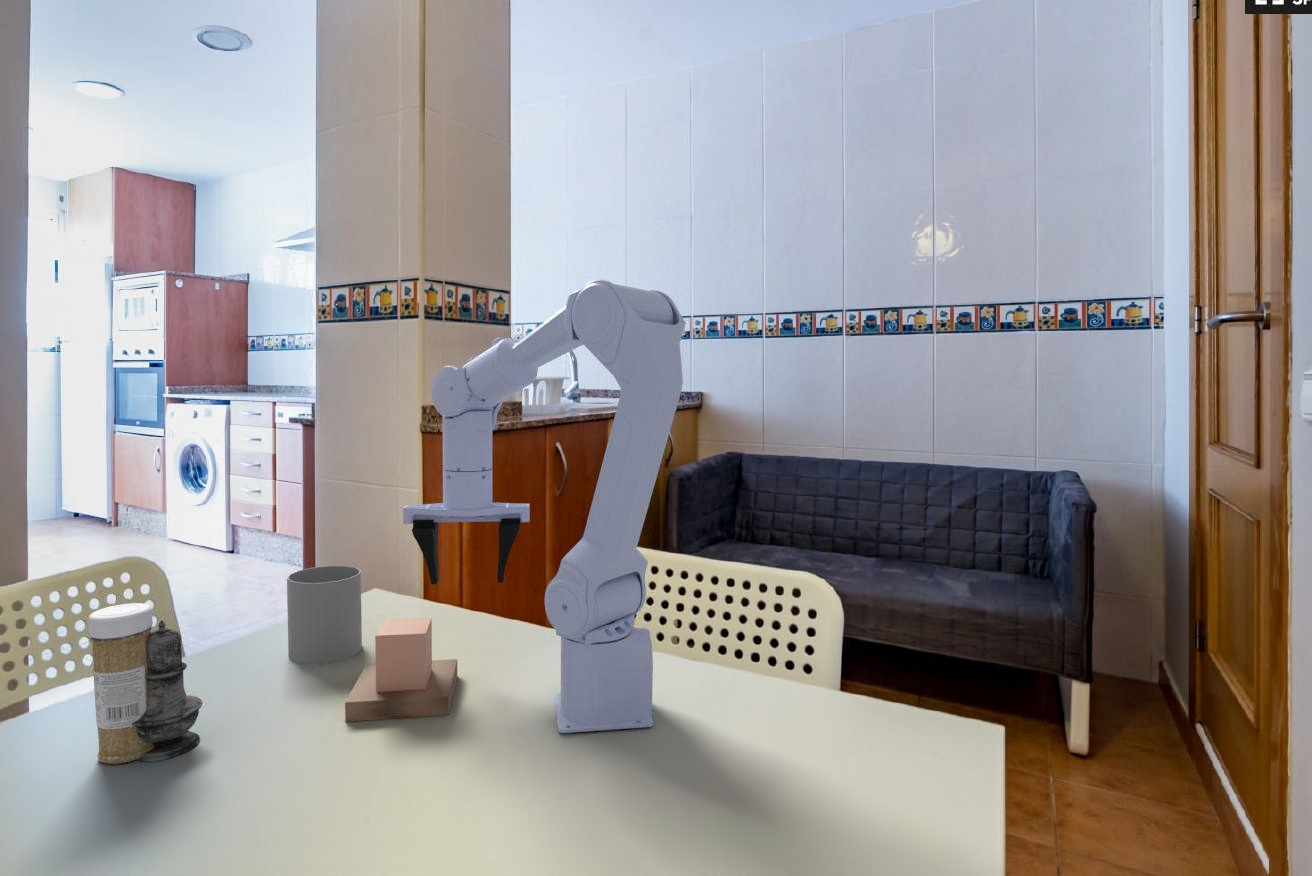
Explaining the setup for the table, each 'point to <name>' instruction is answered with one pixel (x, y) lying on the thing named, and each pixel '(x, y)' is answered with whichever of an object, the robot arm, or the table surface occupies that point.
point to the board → (402, 696)
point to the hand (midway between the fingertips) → (468, 581)
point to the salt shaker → (167, 699)
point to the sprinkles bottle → (120, 678)
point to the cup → (324, 614)
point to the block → (403, 654)
